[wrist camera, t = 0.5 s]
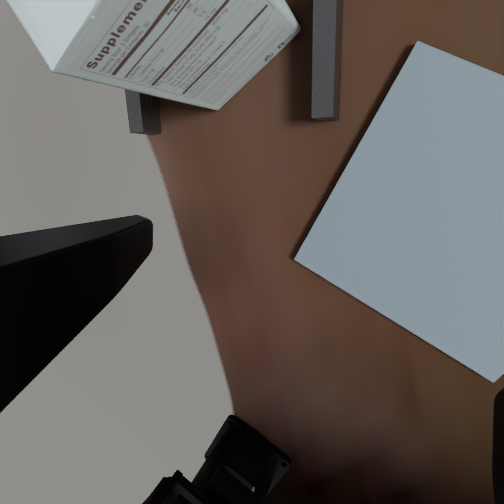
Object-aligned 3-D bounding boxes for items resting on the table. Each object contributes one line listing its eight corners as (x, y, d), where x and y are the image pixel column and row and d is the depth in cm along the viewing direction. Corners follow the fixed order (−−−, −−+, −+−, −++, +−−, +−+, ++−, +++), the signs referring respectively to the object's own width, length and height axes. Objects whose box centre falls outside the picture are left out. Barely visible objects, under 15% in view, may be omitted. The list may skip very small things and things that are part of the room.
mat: (491, 377, 20) (493, 382, 20) (296, 257, 23) (293, 259, 23) (716, 166, 15) (727, 166, 14) (417, 43, 18) (417, 40, 17)
